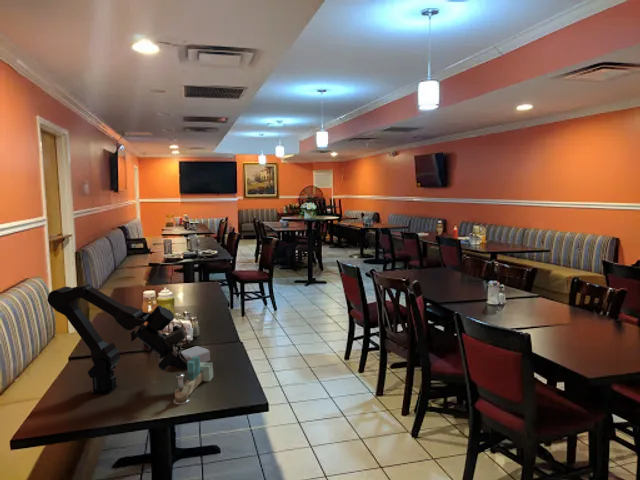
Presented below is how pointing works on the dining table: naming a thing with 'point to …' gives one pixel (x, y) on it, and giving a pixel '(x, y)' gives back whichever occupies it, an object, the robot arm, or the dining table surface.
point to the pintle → (180, 387)
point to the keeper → (206, 370)
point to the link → (190, 380)
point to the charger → (196, 353)
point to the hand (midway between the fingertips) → (189, 367)
